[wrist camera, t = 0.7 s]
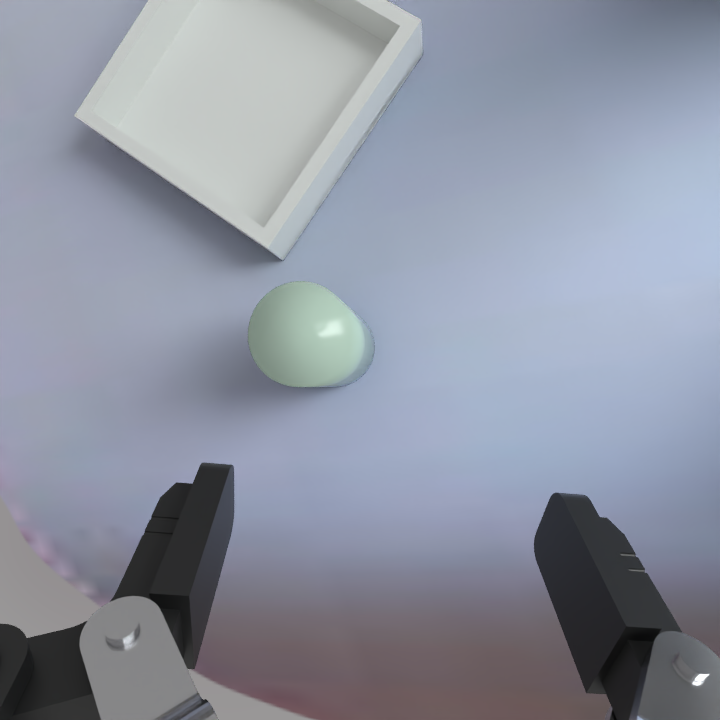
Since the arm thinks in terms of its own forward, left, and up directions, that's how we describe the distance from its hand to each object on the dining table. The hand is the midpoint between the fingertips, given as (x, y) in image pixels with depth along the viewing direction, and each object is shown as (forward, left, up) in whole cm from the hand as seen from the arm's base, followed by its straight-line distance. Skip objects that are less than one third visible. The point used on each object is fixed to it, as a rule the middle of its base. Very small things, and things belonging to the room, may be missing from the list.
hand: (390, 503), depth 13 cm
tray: (-13, -24, -23) cm, 36 cm away
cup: (-1, -8, -23) cm, 24 cm away
